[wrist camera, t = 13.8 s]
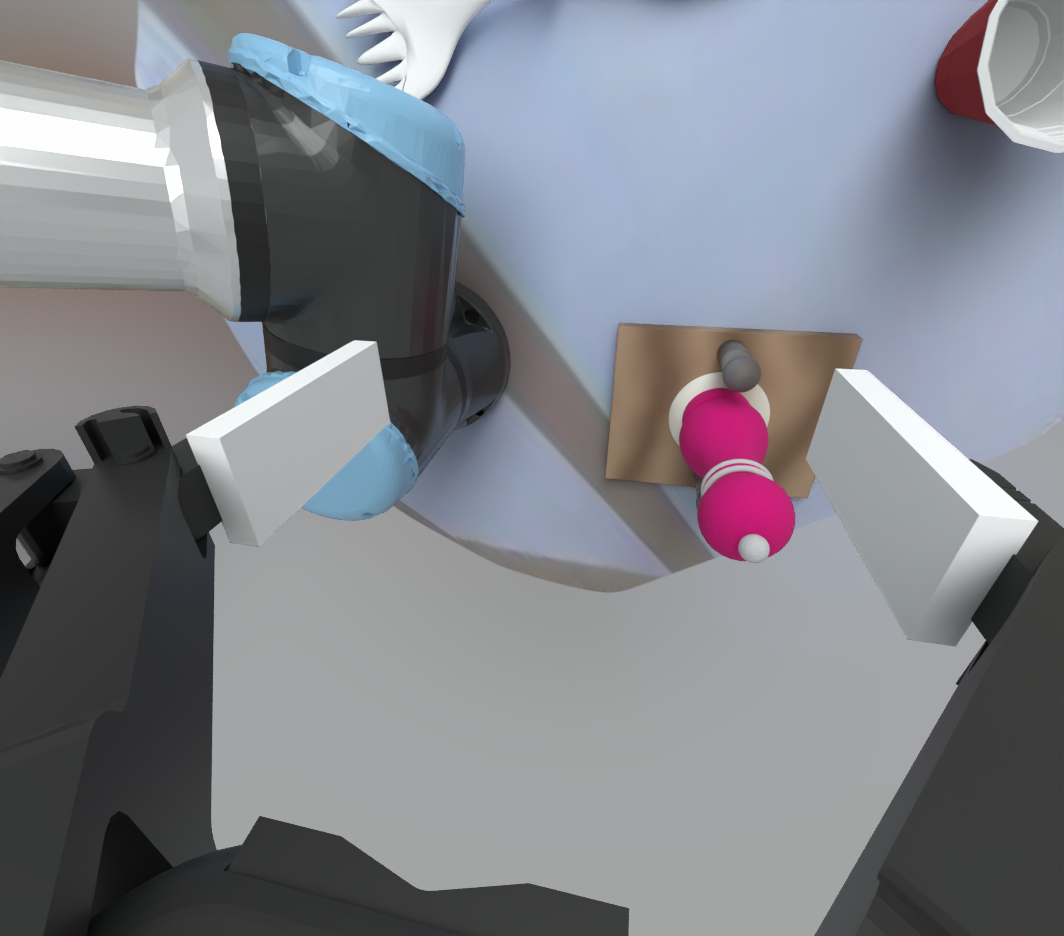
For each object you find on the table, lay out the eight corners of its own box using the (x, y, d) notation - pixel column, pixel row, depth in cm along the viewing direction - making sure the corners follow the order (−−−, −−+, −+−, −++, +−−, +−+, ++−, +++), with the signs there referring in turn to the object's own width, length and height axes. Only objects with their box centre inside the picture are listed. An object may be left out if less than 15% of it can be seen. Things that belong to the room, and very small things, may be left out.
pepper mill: (766, 439, 46) (834, 590, 29) (689, 460, 49) (711, 610, 32) (747, 370, 43) (810, 494, 26) (666, 397, 46) (678, 525, 29)
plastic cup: (929, -53, 30) (1073, -169, 20) (1133, -57, 28) (1402, -185, 18) (860, 156, 36) (944, 148, 26) (1027, 163, 34) (1187, 157, 24)
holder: (606, 470, 53) (600, 515, 46) (619, 322, 45) (614, 350, 38) (803, 490, 50) (829, 542, 43) (856, 333, 42) (898, 366, 35)
